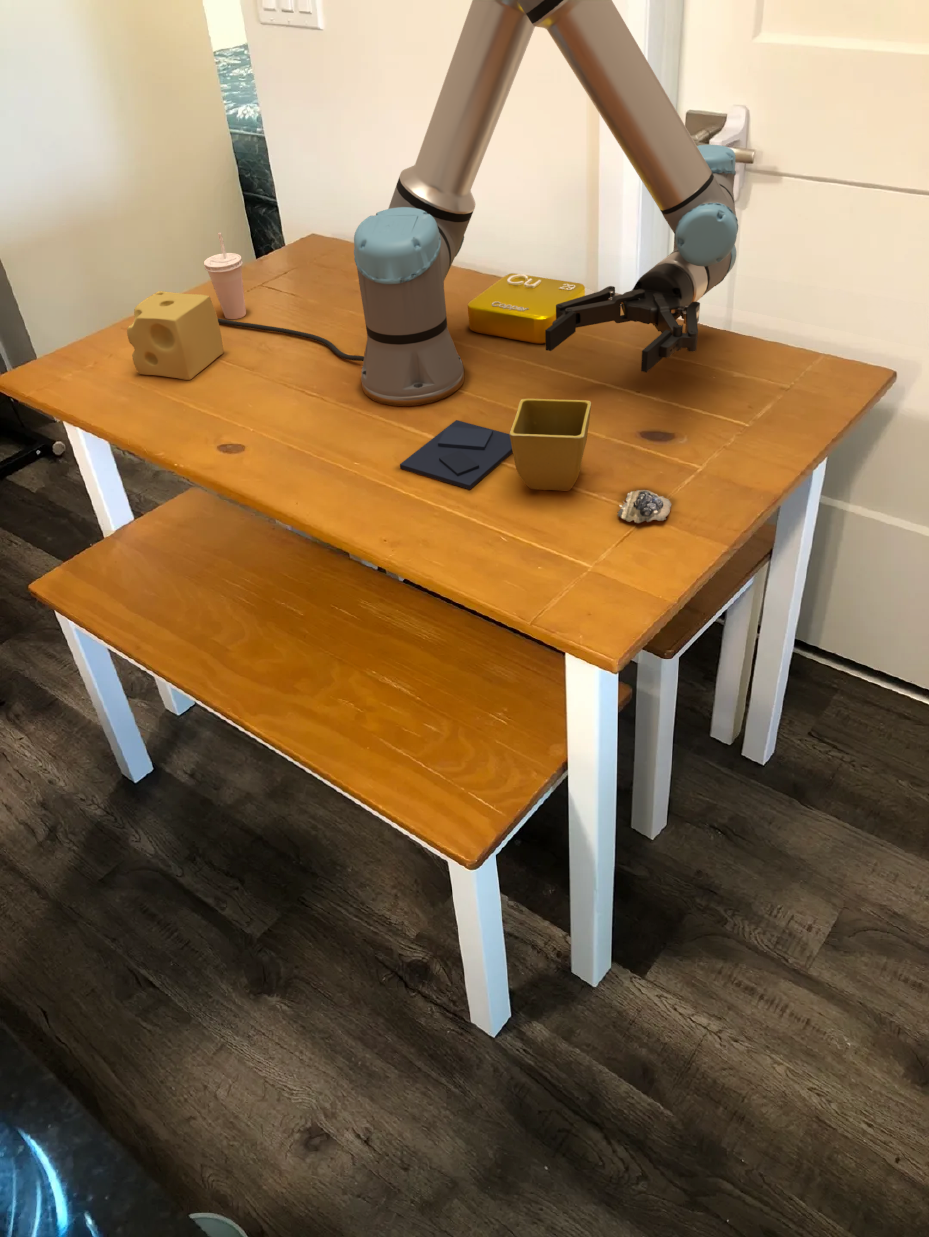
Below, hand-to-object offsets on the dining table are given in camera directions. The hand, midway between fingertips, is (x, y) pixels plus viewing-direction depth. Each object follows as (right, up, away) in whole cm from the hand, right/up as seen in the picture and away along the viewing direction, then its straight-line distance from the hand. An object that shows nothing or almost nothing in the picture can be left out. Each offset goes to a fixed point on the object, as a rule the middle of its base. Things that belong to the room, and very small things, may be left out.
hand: (594, 351), depth 123 cm
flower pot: (-5, -16, 0) cm, 17 cm away
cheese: (-61, +7, +35) cm, 71 cm away
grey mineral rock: (+5, -21, -6) cm, 22 cm away
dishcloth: (-16, -12, +6) cm, 21 cm away
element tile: (-6, +15, +38) cm, 41 cm away
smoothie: (-56, +19, +49) cm, 77 cm away
